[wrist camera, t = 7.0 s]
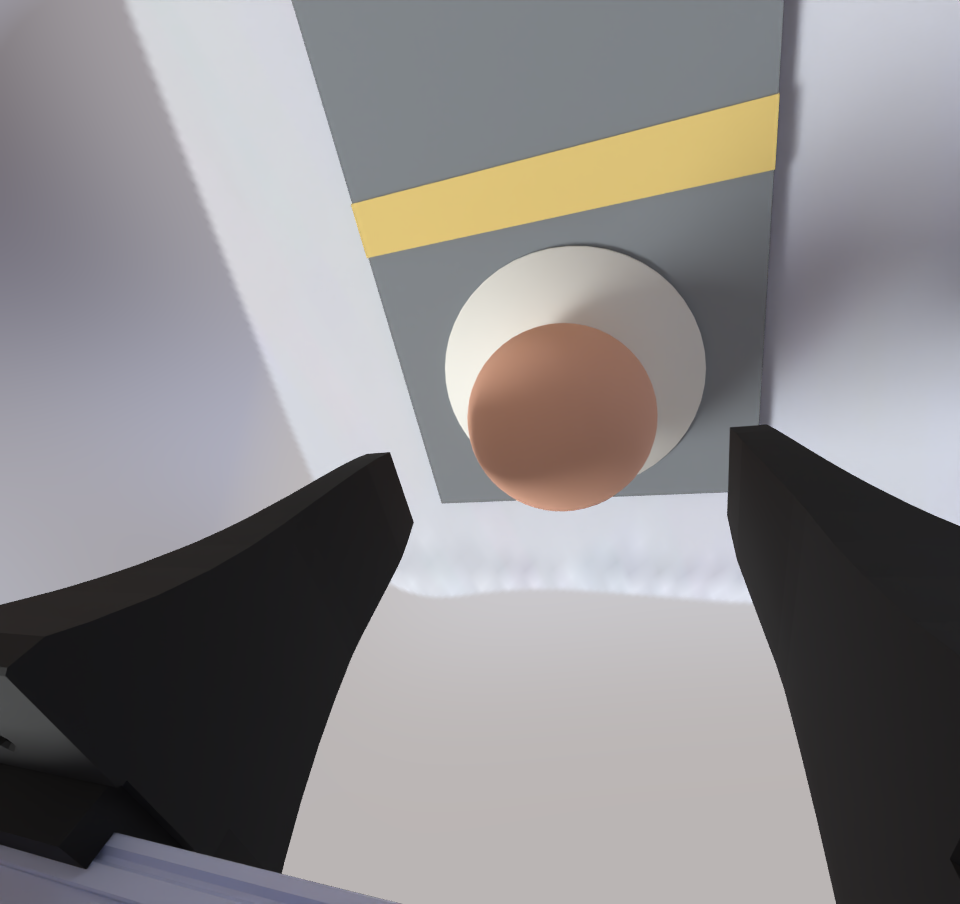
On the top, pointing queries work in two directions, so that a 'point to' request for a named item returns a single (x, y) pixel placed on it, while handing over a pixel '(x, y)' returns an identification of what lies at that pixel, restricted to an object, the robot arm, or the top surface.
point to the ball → (562, 417)
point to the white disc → (592, 302)
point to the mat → (559, 177)
